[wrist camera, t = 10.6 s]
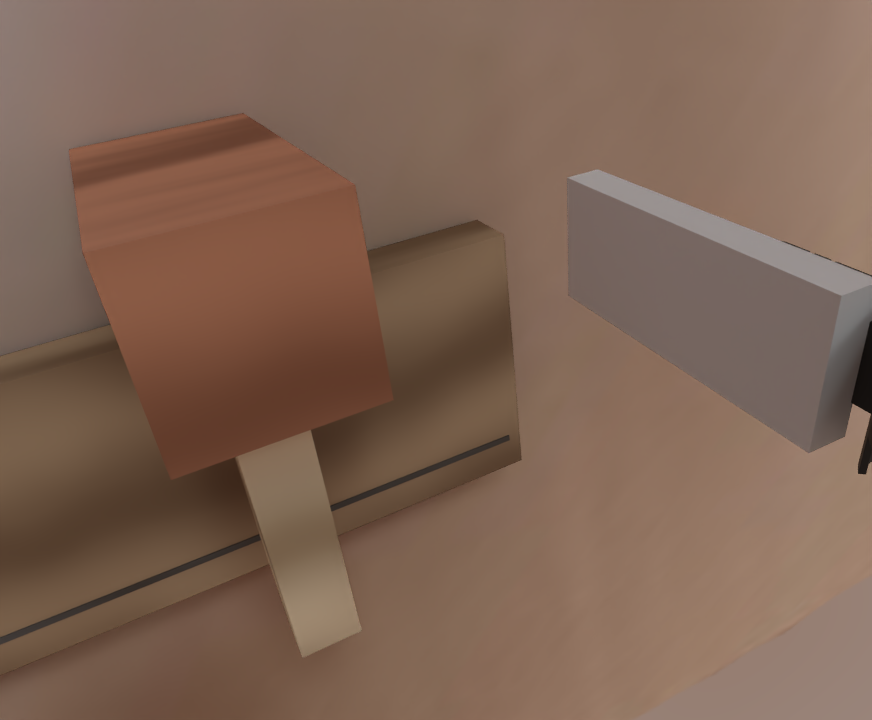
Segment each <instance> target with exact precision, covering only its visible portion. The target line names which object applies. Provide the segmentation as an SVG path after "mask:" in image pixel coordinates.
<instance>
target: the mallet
mask: <svg viewBox="0 0 872 720" xmlns="http://www.w3.org/2000/svg"><path fill="white" fill-rule="evenodd" d="M69 155H70V162H71V169H72V177H73V184H74V192H75V199H76V207H77V214H78V221H79V229H80V236H81V244H82V251H83V255H84V258H85V260H86V263H87V265H88V268H89V271H90V273H91V276H92V278H93V281H94V283H95V286H96V289H97V291H98V294H99V296H100V299H101V301H102V304H103V307H104V309H105V312H106V314H107V317H108V319H109V322H110V325H111V327H112V330H113V332H114V335H115V337H116V340H117V343H118V345H119V348H120V350H121V353H122V355H123V358H124V361H125V363H126V366H127V368H128V371H129V373H130V376H131V379H132V381H133V384H134V386H135V389H136V391H137V394H138V397H139V399H140V402H141V404H142V407H143V409H144V412H145V415H146V417H147V420H148V422H149V425H150V427H151V430H152V433H153V435H154V438H155V440H156V443H157V445H158V448H159V451H160V453H161V456H162V458H163V461H164V463H165V466H166V469H167V471H168V474H169V476H170V479H171V480H173V479H175V478H178V477H181V476H184V475H187V474H189V473H192V472H195V471H198V470H200V469H203V468H206V467H209V466H212V465H214V464H217V463H220V462H223V461H225V460H228V459H231V458H234V457H235V460H236V463H237V466H238V469H239V473H240V476H241V479H242V482H243V485H244V488H245V491H246V494H247V497H248V500H249V503H250V506H251V509H252V512H253V515H254V519H255V522H256V525H257V528H258V531H259V534H260V537H261V540H262V543H263V546H264V549H265V552H266V555H267V558H268V561H269V565H270V568H271V571H272V574H273V577H274V580H275V583H276V586H277V589H278V592H279V595H280V598H281V601H282V604H283V607H284V611H285V614H286V616H287V619H288V622H289V624H290V627H291V629H292V632H293V635H294V637H295V640H296V643H297V645H298V648H299V650H300V653H301V656H302V658H304V657H306V656H308V655H310V654H313V653H315V652H317V651H319V650H321V649H323V648H326V647H328V646H330V645H332V644H334V643H336V642H339V641H341V640H343V639H345V638H347V637H349V636H352V635H354V634H356V633H358V632H360V631H362V630H361V626H360V622H359V618H358V614H357V610H356V606H355V603H354V599H353V595H352V591H351V587H350V583H349V579H348V575H347V571H346V567H345V563H344V559H343V555H342V551H341V547H340V544H339V540H338V536H337V532H336V528H335V524H334V520H333V516H332V512H331V508H330V504H329V500H328V496H327V492H326V488H325V484H324V481H323V477H322V473H321V469H320V465H319V461H318V457H317V453H316V449H315V445H314V441H313V437H312V433H311V430H312V429H315V428H317V427H320V426H323V425H326V424H328V423H331V422H334V421H337V420H340V419H342V418H345V417H348V416H351V415H353V414H356V413H359V412H362V411H365V410H367V409H370V408H373V407H376V406H379V405H381V404H384V403H387V402H390V401H392V400H394V399H393V394H392V388H391V383H390V377H389V372H388V366H387V360H386V355H385V349H384V344H383V338H382V333H381V327H380V321H379V316H378V310H377V305H376V299H375V294H374V288H373V282H372V277H371V271H370V266H369V260H368V255H367V249H366V243H365V238H364V232H363V227H362V221H361V215H360V210H359V204H358V199H357V193H356V188H355V184H353V183H351V182H350V181H348V180H347V179H345V178H344V177H342V176H340V175H339V174H337V173H336V172H334V171H333V170H331V169H329V168H328V167H326V166H325V165H323V164H322V163H320V162H319V161H317V160H315V159H314V158H312V157H311V156H309V155H308V154H306V153H304V152H303V151H301V150H300V149H298V148H297V147H295V146H293V145H292V144H290V143H289V142H287V141H286V140H284V139H283V138H281V137H279V136H278V135H276V134H275V133H273V132H272V131H270V130H268V129H267V128H265V127H264V126H262V125H261V124H259V123H257V122H256V121H254V120H253V119H251V118H250V117H248V116H247V115H245V114H243V113H242V114H237V115H232V116H227V117H222V118H218V119H213V120H208V121H203V122H198V123H194V124H189V125H184V126H179V127H174V128H170V129H165V130H160V131H155V132H150V133H145V134H141V135H136V136H131V137H126V138H121V139H117V140H112V141H107V142H102V143H97V144H92V145H88V146H83V147H78V148H73V149H69Z"/></svg>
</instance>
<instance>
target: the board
mask: <svg viewBox="0 0 872 720" xmlns="http://www.w3.org/2000/svg"><path fill="white" fill-rule="evenodd" d="M367 255H368V260H369V266H370V271H371V277H372V282H373V288H374V294H375V299H376V305H377V310H378V316H379V321H380V327H381V333H382V338H383V344H384V349H385V355H386V360H387V366H388V372H389V377H390V383H391V388H392V394H393V399H394V400H392V401H390V402H387V403H384V404H381V405H379V406H376V407H373V408H370V409H367V410H365V411H362V412H359V413H356V414H353V415H351V416H348V417H345V418H342V419H340V420H337V421H334V422H331V423H328V424H326V425H323V426H320V427H317V428H315V429H312V430H311V433H312V437H313V441H314V445H315V449H316V453H317V457H318V461H319V465H320V469H321V473H322V477H323V481H324V484H325V488H326V492H327V496H328V500H329V504H330V508H331V512H332V516H333V520H334V524H335V528H336V532H337V536H339V535H341V534H344V533H346V532H348V531H351V530H353V529H356V528H358V527H360V526H363V525H365V524H368V523H370V522H373V521H375V520H377V519H380V518H382V517H385V516H387V515H389V514H392V513H394V512H397V511H399V510H402V509H404V508H406V507H409V506H411V505H414V504H416V503H419V502H421V501H423V500H426V499H428V498H431V497H433V496H435V495H438V494H440V493H443V492H445V491H448V490H450V489H452V488H455V487H457V486H460V485H462V484H464V483H467V482H469V481H472V480H474V479H477V478H479V477H481V476H484V475H486V474H489V473H491V472H493V471H496V470H498V469H501V468H503V467H506V466H508V465H510V464H513V463H515V462H518V461H520V460H521V447H520V434H519V422H518V409H517V396H516V383H515V370H514V358H513V345H512V332H511V319H510V306H509V293H508V281H507V268H506V255H505V242H504V234H502V233H500V232H498V231H496V230H495V229H493V228H491V227H489V226H487V225H485V224H483V223H482V222H480V221H478V220H475V221H471V222H468V223H464V224H461V225H457V226H454V227H450V228H447V229H443V230H440V231H436V232H433V233H429V234H426V235H422V236H419V237H415V238H412V239H408V240H405V241H401V242H398V243H394V244H391V245H387V246H384V247H380V248H377V249H373V250H370V251H367ZM266 565H269V561H268V558H267V555H266V552H265V549H264V546H263V543H262V540H261V537H260V534H259V531H258V528H257V525H256V522H255V519H254V515H253V512H252V509H251V506H250V503H249V500H248V497H247V494H246V491H245V488H244V485H243V482H242V479H241V476H240V473H239V469H238V466H237V463H236V460H235V457H234V458H231V459H228V460H225V461H223V462H220V463H217V464H214V465H212V466H209V467H206V468H203V469H200V470H198V471H195V472H192V473H189V474H187V475H184V476H181V477H178V478H175V479H173V480H171V479H170V476H169V474H168V471H167V469H166V466H165V463H164V461H163V458H162V456H161V453H160V451H159V448H158V445H157V443H156V440H155V438H154V435H153V433H152V430H151V427H150V425H149V422H148V420H147V417H146V415H145V412H144V409H143V407H142V404H141V402H140V399H139V397H138V394H137V391H136V389H135V386H134V384H133V381H132V379H131V376H130V373H129V371H128V368H127V366H126V363H125V361H124V358H123V355H122V353H121V350H120V348H119V345H118V343H117V340H116V337H115V335H114V332H113V330H112V327H111V325H107V326H104V327H100V328H97V329H93V330H90V331H86V332H83V333H79V334H76V335H72V336H69V337H65V338H62V339H58V340H55V341H51V342H48V343H44V344H41V345H37V346H34V347H30V348H27V349H23V350H20V351H16V352H13V353H9V354H6V355H2V356H0V675H3V674H5V673H8V672H10V671H12V670H15V669H17V668H20V667H22V666H25V665H27V664H29V663H32V662H34V661H37V660H39V659H41V658H44V657H46V656H49V655H51V654H54V653H56V652H58V651H61V650H63V649H66V648H68V647H70V646H73V645H75V644H78V643H80V642H83V641H85V640H87V639H90V638H92V637H95V636H97V635H99V634H102V633H104V632H107V631H109V630H112V629H114V628H116V627H119V626H121V625H124V624H126V623H128V622H131V621H133V620H136V619H138V618H141V617H143V616H145V615H148V614H150V613H153V612H155V611H157V610H160V609H162V608H165V607H167V606H170V605H172V604H174V603H177V602H179V601H182V600H184V599H186V598H189V597H191V596H194V595H196V594H199V593H201V592H203V591H206V590H208V589H211V588H213V587H215V586H218V585H220V584H223V583H225V582H228V581H230V580H232V579H235V578H237V577H240V576H242V575H244V574H247V573H249V572H252V571H254V570H257V569H259V568H261V567H264V566H266Z"/></svg>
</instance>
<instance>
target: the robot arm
mask: <svg viewBox="0 0 872 720" xmlns="http://www.w3.org/2000/svg"><path fill="white" fill-rule="evenodd" d="M567 209H568V284H569V296H570V297H572V298H573V299H575V300H576V301H578V302H579V303H581V304H582V305H584V306H585V307H587V308H588V309H590V310H591V311H593V312H594V313H596V314H598V315H599V316H601V317H602V318H604V319H605V320H607V321H608V322H610V323H611V324H613V325H614V326H616V327H617V328H619V329H620V330H622V331H623V332H625V333H626V334H628V335H630V336H631V337H633V338H634V339H636V340H637V341H639V342H640V343H642V344H643V345H645V346H646V347H648V348H649V349H651V350H652V351H654V352H655V353H657V354H659V355H660V356H662V357H663V358H665V359H666V360H668V361H669V362H671V363H672V364H674V365H675V366H677V367H678V368H680V369H681V370H683V371H684V372H686V373H687V374H689V375H691V376H692V377H694V378H695V379H697V380H698V381H700V382H701V383H703V384H704V385H706V386H707V387H709V388H710V389H712V390H713V391H715V392H716V393H718V394H720V395H721V396H723V397H724V398H726V399H727V400H729V401H730V402H732V403H733V404H735V405H736V406H738V407H739V408H741V409H742V410H744V411H745V412H747V413H748V414H750V415H752V416H753V417H755V418H756V419H758V420H759V421H761V422H762V423H764V424H765V425H767V426H768V427H770V428H771V429H773V430H774V431H776V432H777V433H779V434H781V435H782V436H784V437H785V438H787V439H788V440H790V441H791V442H793V443H794V444H796V445H797V446H799V447H800V448H802V449H803V450H805V451H806V452H808V453H810V452H812V451H815V450H817V449H819V448H821V447H823V446H825V445H828V444H830V443H832V442H834V441H836V440H838V439H840V438H843V437H845V433H846V429H847V425H848V420H849V416H850V412H851V408H852V404H855V405H856V406H858V407H860V408H862V409H863V410H865V411H867V412H869V413H871V416H870V420H869V424H868V428H867V432H866V436H865V440H864V444H863V448H862V452H861V456H860V459H859V463H858V474H866V472H867V468H868V464H869V463H870V462H872V275H869V274H867V273H864V272H861V271H859V270H856V269H854V268H851V267H849V266H846V265H844V264H841V263H838V262H833V261H831V259H828V258H826V257H823V256H820V255H818V254H813V253H810V251H808V250H805V249H802V248H800V247H797V246H795V245H792V244H790V243H787V242H784V241H779V240H777V239H774V238H772V237H769V236H767V235H764V234H761V233H759V232H756V231H754V230H751V229H749V228H746V227H744V226H741V225H738V224H736V223H733V222H731V221H728V220H726V219H723V218H721V217H718V216H715V215H713V214H710V213H708V212H705V211H703V210H700V209H698V208H695V207H692V206H690V205H687V204H685V203H682V202H680V201H677V200H675V199H672V198H669V197H667V196H664V195H662V194H659V193H657V192H654V191H652V190H649V189H647V188H644V187H641V186H639V185H636V184H634V183H631V182H629V181H626V180H624V179H621V178H618V177H616V176H613V175H611V174H608V173H606V172H603V171H601V170H598V169H597V170H594V171H590V172H586V173H583V174H579V175H575V176H572V177H568V178H567Z"/></svg>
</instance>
